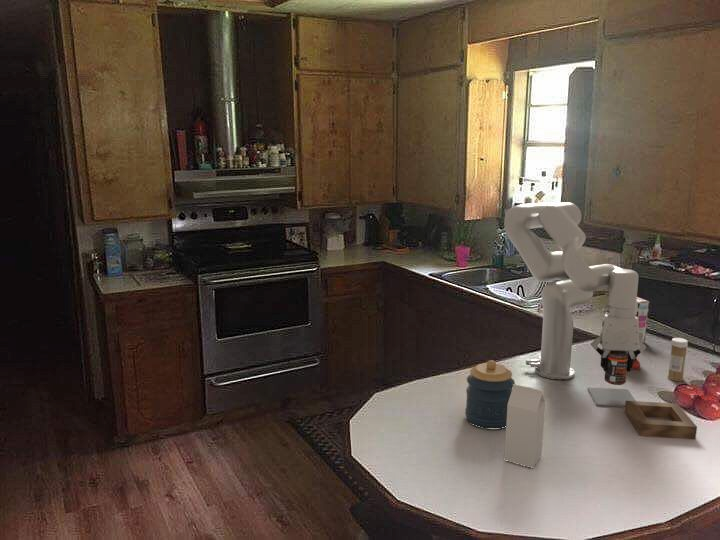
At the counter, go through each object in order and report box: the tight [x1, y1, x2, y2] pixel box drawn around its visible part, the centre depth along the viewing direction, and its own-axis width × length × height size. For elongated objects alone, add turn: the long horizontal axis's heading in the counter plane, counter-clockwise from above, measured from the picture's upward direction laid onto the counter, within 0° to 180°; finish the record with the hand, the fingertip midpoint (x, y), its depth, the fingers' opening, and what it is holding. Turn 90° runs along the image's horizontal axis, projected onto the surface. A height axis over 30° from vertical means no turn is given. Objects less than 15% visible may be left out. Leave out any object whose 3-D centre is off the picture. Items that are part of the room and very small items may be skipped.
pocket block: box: [624, 400, 698, 440], centre depth 167 cm, size 14×14×4 cm
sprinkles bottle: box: [667, 337, 689, 382], centre depth 197 cm, size 5×5×13 cm
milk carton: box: [503, 383, 546, 469], centre depth 149 cm, size 7×7×19 cm
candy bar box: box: [635, 296, 650, 344], centre depth 235 cm, size 11×5×16 cm, turn 14°
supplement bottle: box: [604, 351, 628, 386], centre depth 182 cm, size 6×6×11 cm
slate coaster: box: [587, 386, 637, 408], centre depth 184 cm, size 12×12×1 cm
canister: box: [464, 359, 516, 428], centre depth 169 cm, size 13×13×18 cm
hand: (616, 369), depth 182 cm, fingers closed on supplement bottle, 6 cm apart
